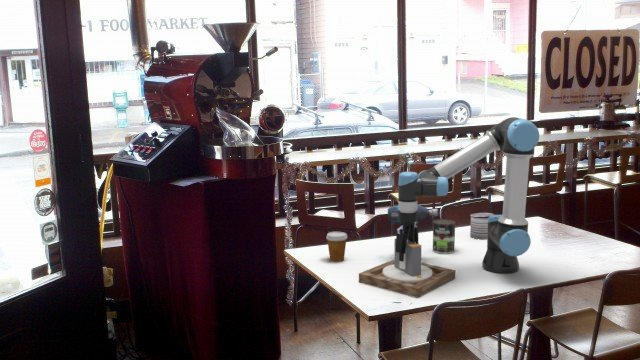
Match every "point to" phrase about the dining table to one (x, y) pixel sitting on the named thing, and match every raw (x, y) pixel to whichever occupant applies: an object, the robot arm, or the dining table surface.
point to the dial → (408, 266)
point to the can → (479, 225)
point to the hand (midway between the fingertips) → (407, 266)
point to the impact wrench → (421, 214)
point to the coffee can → (443, 236)
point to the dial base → (415, 290)
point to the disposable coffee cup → (336, 245)
